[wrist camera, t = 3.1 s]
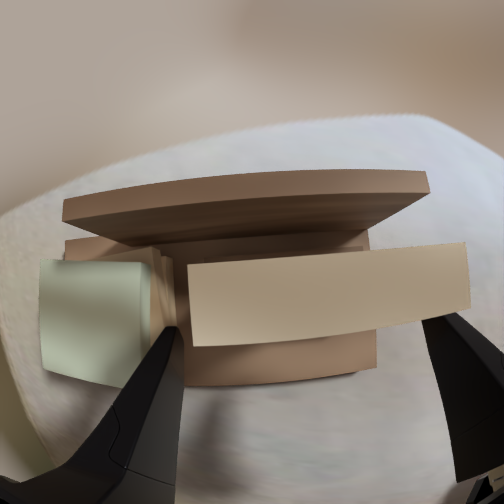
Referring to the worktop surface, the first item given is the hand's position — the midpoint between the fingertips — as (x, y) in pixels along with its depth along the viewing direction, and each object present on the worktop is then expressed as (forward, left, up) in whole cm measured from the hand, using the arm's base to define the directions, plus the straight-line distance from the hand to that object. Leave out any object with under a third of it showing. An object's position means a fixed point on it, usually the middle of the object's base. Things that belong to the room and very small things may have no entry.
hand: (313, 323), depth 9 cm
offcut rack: (+3, +4, -10) cm, 11 cm away
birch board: (+1, -1, -9) cm, 9 cm away
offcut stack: (+6, +9, -9) cm, 14 cm away
